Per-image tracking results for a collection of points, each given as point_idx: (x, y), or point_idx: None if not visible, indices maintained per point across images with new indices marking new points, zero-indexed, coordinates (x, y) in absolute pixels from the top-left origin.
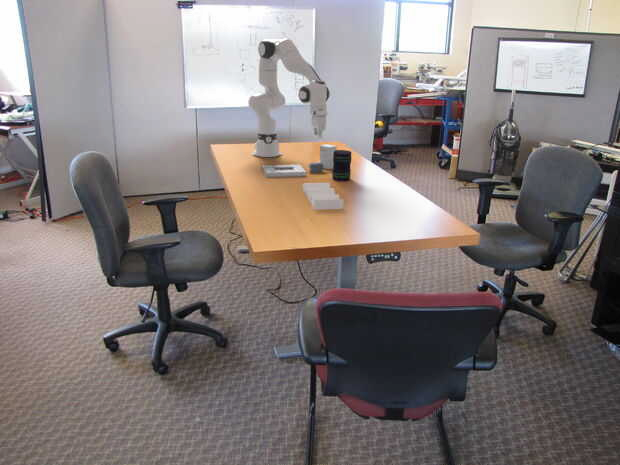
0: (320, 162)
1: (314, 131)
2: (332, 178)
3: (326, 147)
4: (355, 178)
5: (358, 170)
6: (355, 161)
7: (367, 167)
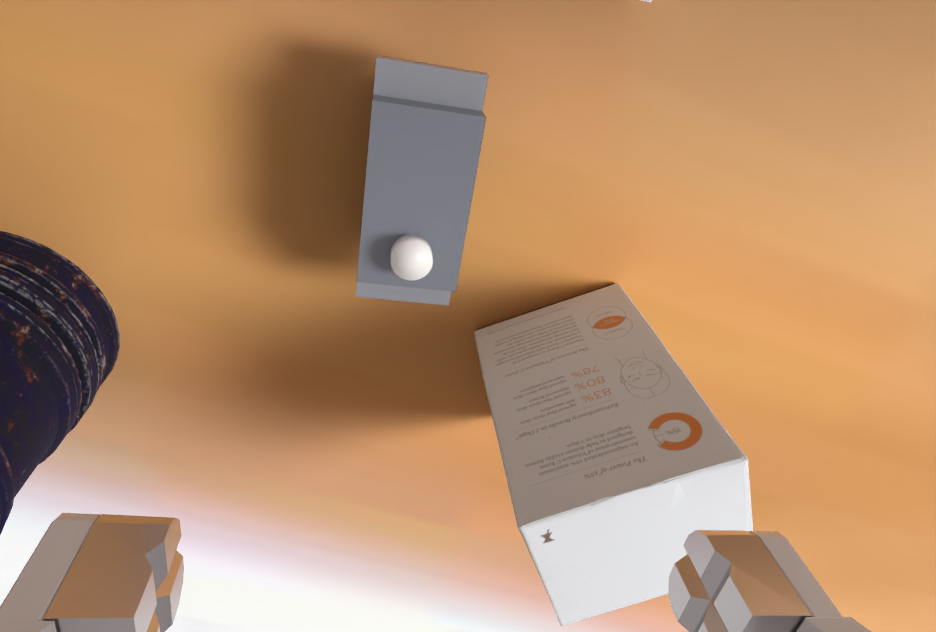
0: (391, 261)
1: (807, 620)
2: (5, 235)
3: (574, 500)
4: None
5: (363, 551)
6: (666, 604)
7: (447, 625)
